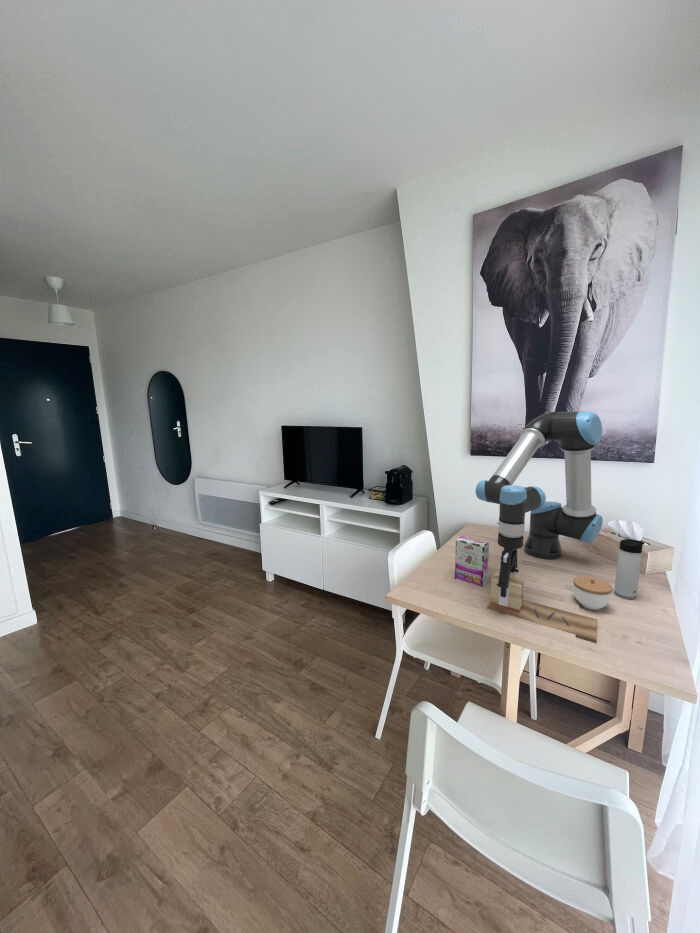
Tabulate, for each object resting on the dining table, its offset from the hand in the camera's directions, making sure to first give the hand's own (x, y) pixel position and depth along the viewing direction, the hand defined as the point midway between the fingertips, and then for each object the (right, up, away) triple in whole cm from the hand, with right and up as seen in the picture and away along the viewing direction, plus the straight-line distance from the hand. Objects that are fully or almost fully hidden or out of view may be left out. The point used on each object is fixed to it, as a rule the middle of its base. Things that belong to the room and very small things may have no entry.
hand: (506, 597), depth 120 cm
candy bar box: (-6, -1, +18) cm, 19 cm away
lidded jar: (+28, -3, +1) cm, 28 cm away
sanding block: (0, -3, 0) cm, 3 cm away
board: (+8, -4, -5) cm, 11 cm away
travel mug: (+44, -2, +6) cm, 45 cm away
